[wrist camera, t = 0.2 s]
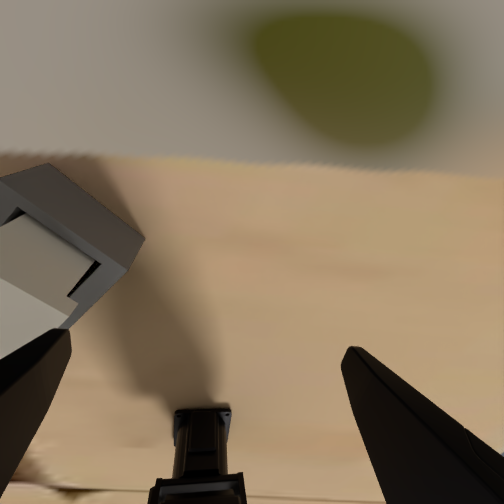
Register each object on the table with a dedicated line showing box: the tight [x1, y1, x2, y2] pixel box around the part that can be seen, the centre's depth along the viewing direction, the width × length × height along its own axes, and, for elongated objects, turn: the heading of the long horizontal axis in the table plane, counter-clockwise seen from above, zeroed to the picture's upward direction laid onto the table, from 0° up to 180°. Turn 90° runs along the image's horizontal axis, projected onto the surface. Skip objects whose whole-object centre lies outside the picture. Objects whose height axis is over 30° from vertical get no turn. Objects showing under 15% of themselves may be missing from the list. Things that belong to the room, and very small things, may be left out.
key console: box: [0, 163, 145, 329], centre depth 20 cm, size 8×21×5 cm, turn 132°
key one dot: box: [0, 213, 95, 359], centre depth 15 cm, size 6×6×7 cm
